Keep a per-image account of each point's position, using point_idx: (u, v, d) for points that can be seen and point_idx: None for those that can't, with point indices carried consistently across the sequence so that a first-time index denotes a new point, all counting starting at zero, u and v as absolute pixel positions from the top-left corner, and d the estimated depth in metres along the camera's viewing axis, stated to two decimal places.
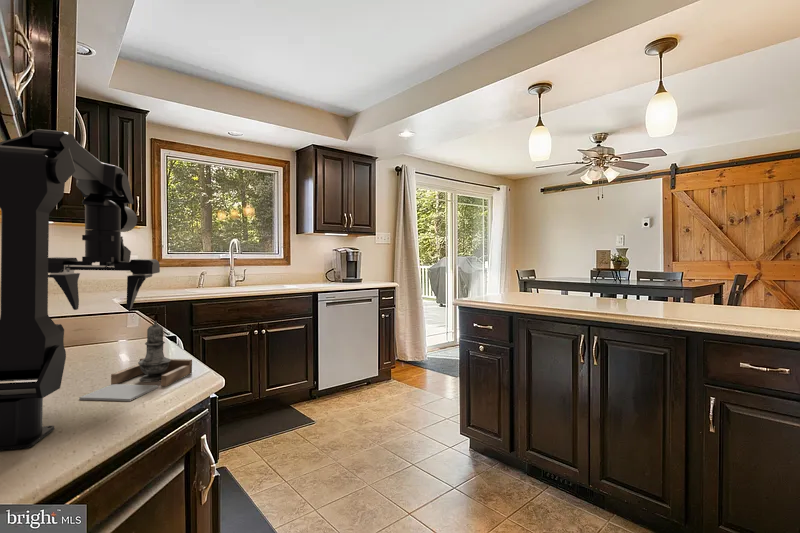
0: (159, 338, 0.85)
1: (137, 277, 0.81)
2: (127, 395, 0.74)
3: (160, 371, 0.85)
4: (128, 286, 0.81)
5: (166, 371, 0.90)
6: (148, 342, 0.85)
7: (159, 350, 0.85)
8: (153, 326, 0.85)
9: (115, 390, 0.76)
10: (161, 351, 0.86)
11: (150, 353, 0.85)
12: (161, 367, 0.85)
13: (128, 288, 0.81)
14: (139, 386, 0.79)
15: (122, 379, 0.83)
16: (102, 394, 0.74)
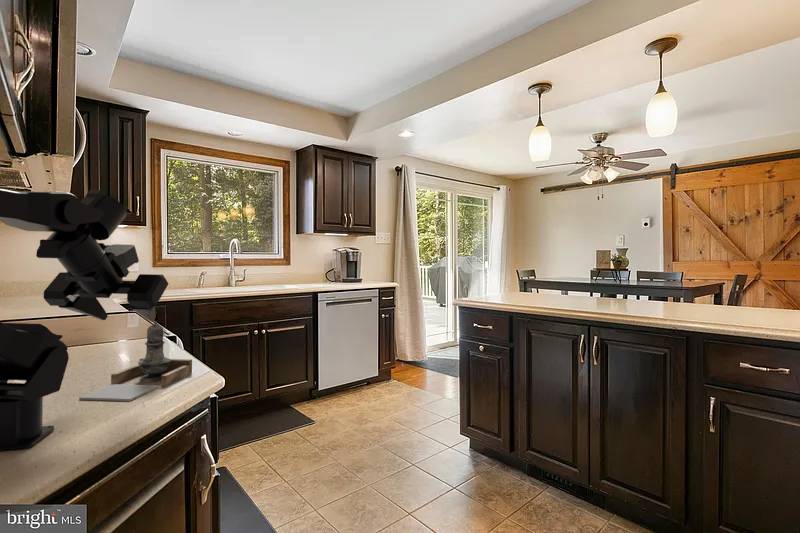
0: (159, 338, 0.85)
1: (142, 309, 0.71)
2: (127, 395, 0.74)
3: (160, 371, 0.85)
4: (139, 313, 0.73)
5: (166, 371, 0.90)
6: (148, 342, 0.85)
7: (159, 350, 0.85)
8: (153, 326, 0.85)
9: (115, 390, 0.76)
10: (161, 351, 0.86)
11: (150, 353, 0.85)
12: (161, 367, 0.85)
13: (140, 313, 0.73)
14: (139, 386, 0.79)
15: (122, 379, 0.83)
16: (102, 394, 0.74)
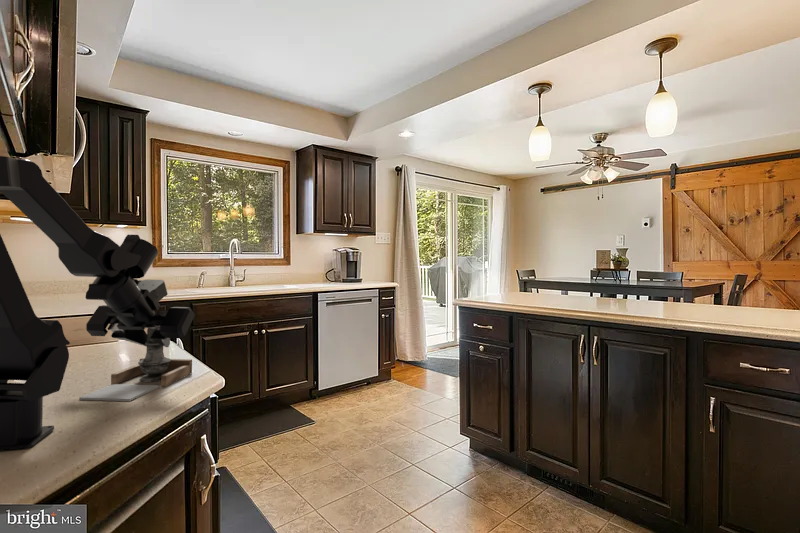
0: None
1: (159, 339, 0.80)
2: (127, 395, 0.74)
3: (160, 371, 0.85)
4: (156, 341, 0.82)
5: (166, 371, 0.90)
6: (148, 342, 0.85)
7: (159, 350, 0.85)
8: None
9: (115, 390, 0.76)
10: (161, 351, 0.86)
11: (150, 353, 0.85)
12: (161, 367, 0.85)
13: (157, 342, 0.83)
14: (139, 386, 0.79)
15: (122, 379, 0.83)
16: (102, 394, 0.74)
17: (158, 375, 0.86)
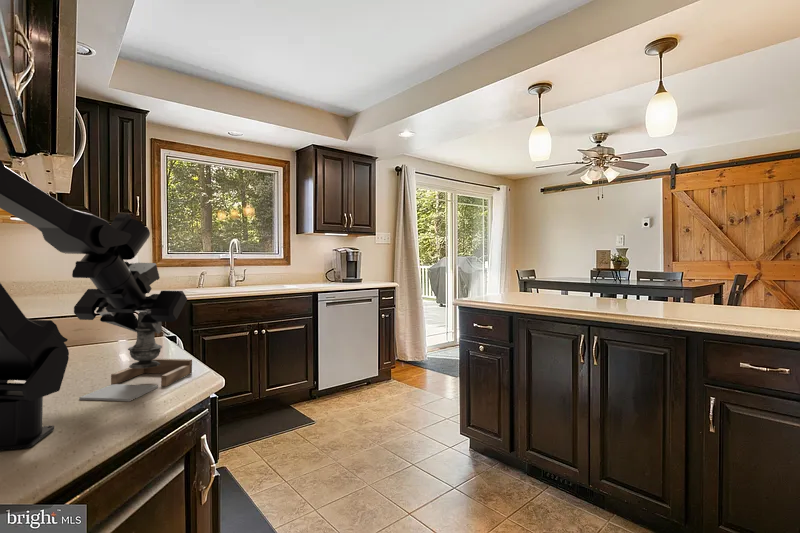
0: None
1: (150, 323, 0.77)
2: (127, 395, 0.74)
3: (151, 357, 0.82)
4: (147, 326, 0.79)
5: (166, 371, 0.90)
6: (139, 327, 0.82)
7: (150, 336, 0.82)
8: None
9: (115, 390, 0.76)
10: (152, 337, 0.83)
11: (141, 338, 0.81)
12: (152, 354, 0.82)
13: (148, 326, 0.80)
14: (139, 386, 0.79)
15: (122, 379, 0.83)
16: (102, 394, 0.74)
17: (149, 362, 0.82)
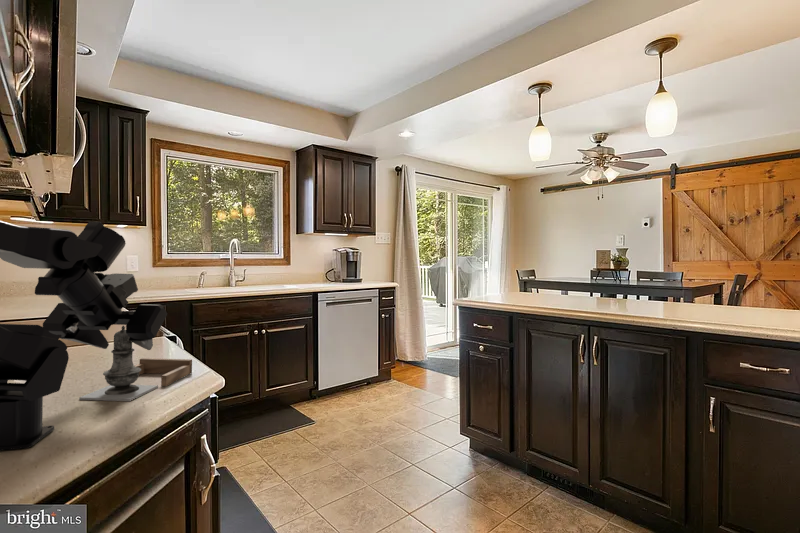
0: (127, 345, 0.76)
1: (139, 341, 0.71)
2: (127, 395, 0.74)
3: (128, 382, 0.75)
4: (136, 343, 0.73)
5: (166, 371, 0.90)
6: (115, 350, 0.75)
7: (127, 359, 0.76)
8: (120, 332, 0.76)
9: None
10: (130, 360, 0.76)
11: (117, 362, 0.75)
12: (130, 378, 0.75)
13: (137, 344, 0.73)
14: (139, 386, 0.79)
15: None
16: (102, 394, 0.74)
17: (126, 387, 0.76)
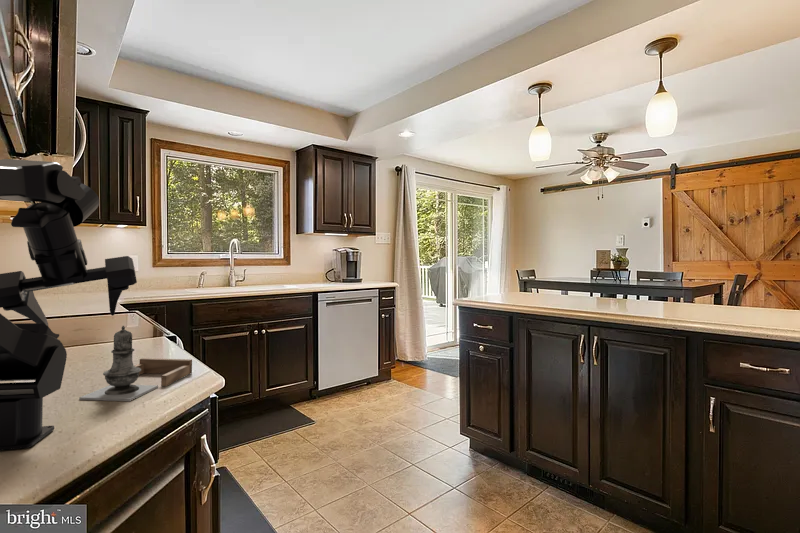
0: (127, 345, 0.76)
1: (120, 290, 0.70)
2: (127, 395, 0.74)
3: (128, 382, 0.75)
4: (110, 298, 0.70)
5: (166, 371, 0.90)
6: (114, 350, 0.75)
7: (127, 359, 0.76)
8: (120, 332, 0.76)
9: None
10: (130, 360, 0.76)
11: (117, 362, 0.75)
12: (130, 378, 0.75)
13: (110, 300, 0.70)
14: (139, 386, 0.79)
15: None
16: (102, 394, 0.74)
17: (126, 387, 0.76)
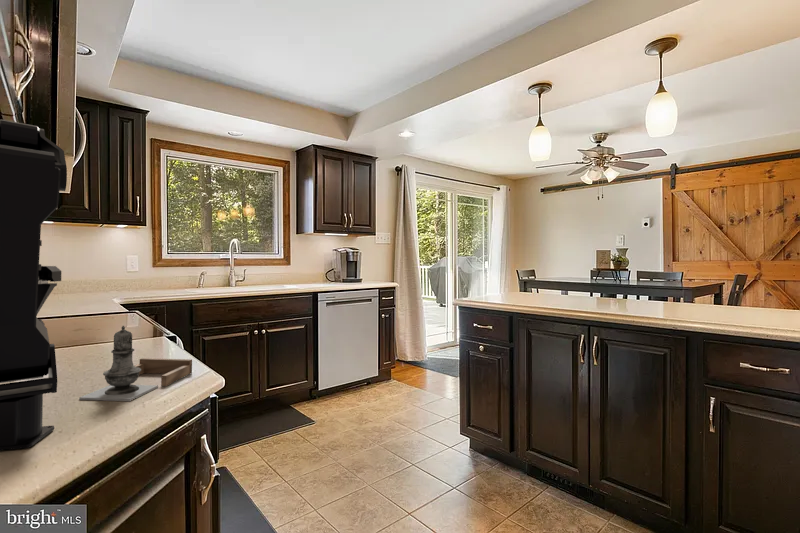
0: (127, 345, 0.76)
1: (55, 285, 0.75)
2: (127, 395, 0.74)
3: (128, 382, 0.75)
4: (45, 296, 0.73)
5: (166, 371, 0.90)
6: (114, 350, 0.75)
7: (127, 359, 0.76)
8: (120, 332, 0.76)
9: None
10: (130, 360, 0.76)
11: (117, 362, 0.75)
12: (130, 378, 0.75)
13: (44, 298, 0.73)
14: (139, 386, 0.79)
15: None
16: (102, 394, 0.74)
17: (126, 387, 0.76)
